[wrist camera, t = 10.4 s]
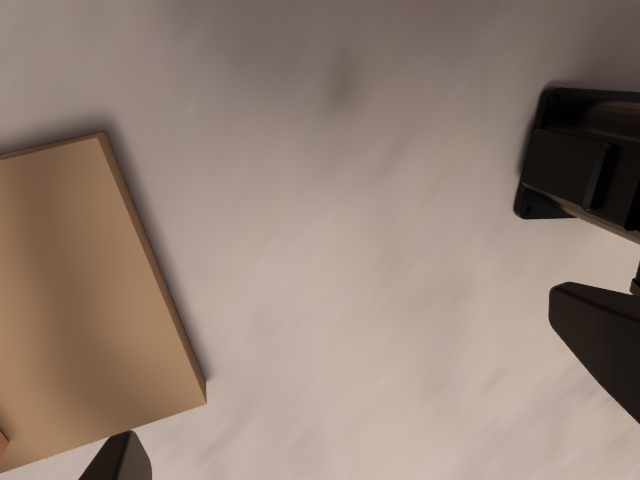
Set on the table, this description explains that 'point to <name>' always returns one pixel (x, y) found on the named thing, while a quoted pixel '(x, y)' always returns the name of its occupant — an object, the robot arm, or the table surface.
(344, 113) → the table surface
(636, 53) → the table surface
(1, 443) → the tile
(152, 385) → the board
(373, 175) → the table surface
